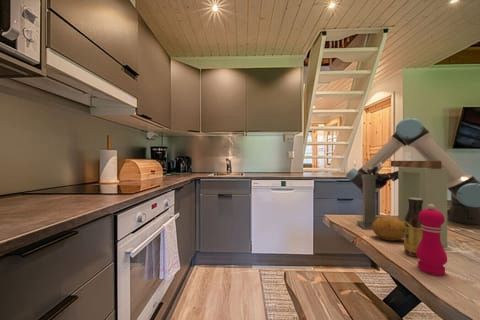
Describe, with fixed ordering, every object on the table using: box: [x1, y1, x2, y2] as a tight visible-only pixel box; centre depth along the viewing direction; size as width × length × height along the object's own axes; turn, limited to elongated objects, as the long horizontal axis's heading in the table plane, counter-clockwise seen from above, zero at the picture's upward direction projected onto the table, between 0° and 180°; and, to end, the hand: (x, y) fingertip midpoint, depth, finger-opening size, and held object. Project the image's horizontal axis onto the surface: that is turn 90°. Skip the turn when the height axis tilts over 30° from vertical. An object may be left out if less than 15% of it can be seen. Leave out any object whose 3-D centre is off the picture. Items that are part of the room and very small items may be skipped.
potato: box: [372, 217, 404, 241], centre depth 95 cm, size 10×13×9 cm
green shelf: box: [397, 167, 448, 247], centre depth 97 cm, size 17×8×30 cm, turn 176°
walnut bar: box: [390, 160, 441, 169], centre depth 102 cm, size 28×3×3 cm, turn 176°
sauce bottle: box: [403, 198, 423, 258], centre depth 80 cm, size 6×6×20 cm
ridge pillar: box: [356, 174, 377, 231], centre depth 113 cm, size 8×8×26 cm
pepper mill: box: [416, 204, 448, 276], centre depth 68 cm, size 7×7×20 cm
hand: (395, 164), depth 113 cm, fingers open, 13 cm apart
